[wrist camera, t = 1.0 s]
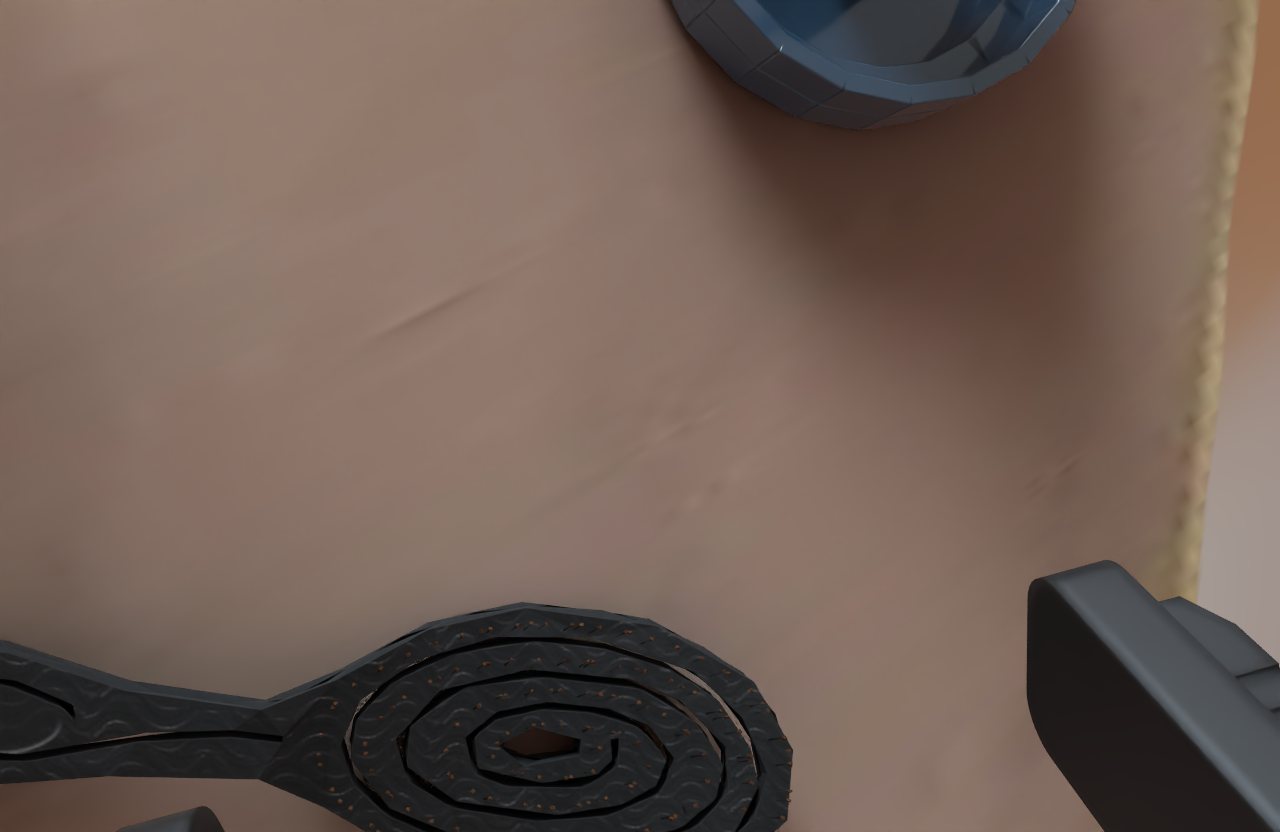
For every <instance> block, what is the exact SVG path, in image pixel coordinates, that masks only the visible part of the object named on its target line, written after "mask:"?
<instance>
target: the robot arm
mask: <svg viewBox="0 0 1280 832" xmlns="http://www.w3.org/2000/svg"><path fill="white" fill-rule="evenodd" d="M1027 700H1028V706H1029V710H1030V714H1031V717H1032V720H1033V723H1034V726H1035V729H1036V731H1037V733H1038V736H1039V738H1040V740H1041V742H1042V744H1043V746H1044V748H1045V749H1046V751H1047V753H1048V754H1049V756H1050V757H1051V759H1052V760H1053V761H1054V763H1055V764H1056V765H1057V767H1058V768H1059V770H1060V771H1061V772H1062V774H1063V775H1064V776H1065V778H1066V779H1067V781H1068V782H1069V783H1070V785H1071V786H1072V787H1073V789H1074V790H1075V792H1076V793H1077V794H1078V796H1079V797H1080V798H1081V800H1082V801H1083V803H1084V804H1085V805H1086V807H1087V808H1088V809H1089V811H1090V812H1091V814H1092V815H1093V816H1094V818H1095V819H1096V820H1097V822H1098V823H1099V825H1100V826H1101V827H1102V829H1103V830H1104V831H1105V832H1280V668H1279V663H1278V662H1277V661H1275V660H1274V659H1273V658H1272V657H1271V656H1270V655H1269V654H1268V653H1267V652H1265V650H1263V649H1262V648H1261V647H1260V646H1259V645H1258V644H1257V643H1256V642H1255V641H1254V640H1252V639H1251V638H1250V637H1249V636H1248V635H1247V634H1246V633H1245V632H1244V631H1243V630H1241V629H1240V628H1239V627H1238V626H1237V625H1236V624H1234V623H1232V622H1230V621H1228V620H1226V619H1224V618H1222V617H1220V616H1218V615H1216V614H1214V613H1212V612H1210V611H1208V610H1206V609H1204V608H1202V607H1200V606H1198V605H1196V604H1194V603H1192V602H1190V601H1188V600H1186V599H1184V598H1182V597H1180V596H1179V597H1175V598H1171V599H1168V600H1164V601H1161V602H1158V601H1157V600H1156V599H1155V598H1154V597H1153V596H1152V595H1151V594H1150V593H1149V592H1148V591H1147V590H1146V589H1145V588H1144V587H1143V586H1141V585H1140V584H1139V583H1138V582H1137V581H1136V580H1135V579H1134V578H1133V577H1132V576H1131V575H1130V574H1129V573H1128V572H1127V571H1126V570H1125V569H1124V568H1123V567H1122V566H1120V565H1119V564H1117V563H1116V562H1113V561H1111V560H1103V561H1099V562H1096V563H1092V564H1088V565H1085V566H1081V567H1077V568H1074V569H1070V570H1067V571H1063V572H1059V573H1056V574H1052V575H1048V576H1045V577H1041V578H1038V579H1035V580H1034V581H1032V582H1031V584H1030V587H1029V591H1028V612H1027ZM116 832H225V831H224V830H223V828H222V826H221V824H220V822H219V820H218V819H217V817H216V815H215V814H214V813H213V812H212V810H210V809H209V808H208V807H205V806H201V807H197V808H193V809H190V810H186V811H182V812H179V813H175V814H171V815H168V816H164V817H161V818H157V819H153V820H150V821H146V822H142V823H139V824H135V825H131V826H128V827H124V828H121V829H119V830H118V831H116Z"/></svg>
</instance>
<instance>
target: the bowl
mask: <svg viewBox="0 0 1280 832" xmlns="http://www.w3.org/2000/svg"><path fill="white" fill-rule="evenodd" d="M671 2H672V4H673V6H674V8H675V10H676V12H677V14H678V16H679V18H680V20H681V22H682V23H683V25H684V27H685V28H686V30H687V31H688V32H689V33H690V35H691V36H692V37H693V38H694V39H695V40H696V41H697V42H698V43H699V44H700V45H701V46H702V47H703V49H704V50H705V51H706V52H707V53H708V54H709V55H710V56H711V57H712V58H713V59H714V60H715V61H716V63H717V64H718V65H719V66H720V67H721V68H722V69H723V70H724V71H725V72H726V73H727V74H728V75H729V76H730V78H731V79H732V80H733V81H734V82H737V84H739V85H740V86H742V87H744V88H746V89H747V90H749V91H751V92H753V93H754V94H756V95H758V96H759V97H761V98H763V99H765V100H766V101H768V102H770V103H772V104H773V105H775V106H777V107H778V108H780V109H782V110H784V111H785V112H787V113H789V114H790V115H792V116H794V117H796V118H800V119H805V120H810V121H814V122H819V123H824V124H829V125H834V126H839V127H844V128H849V129H854V130H864V129H871V128H877V127H884V126H890V125H897V124H903V123H910V122H916V121H919V120H921V119H924V118H926V117H928V116H930V115H933V114H935V113H937V112H939V111H942V110H944V109H946V108H948V107H951V106H953V105H955V104H957V103H959V102H962V101H964V100H966V99H968V98H971V97H973V96H975V95H977V94H979V93H981V92H982V91H984V90H986V89H987V88H989V87H991V86H993V85H994V84H996V83H998V82H1000V81H1001V80H1003V79H1005V78H1007V77H1008V76H1010V75H1012V74H1014V73H1015V72H1017V71H1019V70H1021V69H1022V68H1024V67H1026V66H1027V65H1028V64H1029V63H1031V61H1032V60H1033V59H1034V58H1035V57H1036V55H1037V54H1038V53H1039V52H1040V51H1041V49H1042V48H1043V47H1044V46H1045V45H1046V43H1047V42H1048V41H1049V40H1050V39H1051V37H1052V36H1053V35H1054V34H1055V33H1056V31H1057V30H1058V29H1059V28H1060V27H1061V25H1062V24H1063V23H1064V22H1065V21H1066V19H1067V18H1068V17H1069V15H1070V14H1071V12H1072V9H1073V7H1074V4H1075V2H1076V0H671Z"/></svg>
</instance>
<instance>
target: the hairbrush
mask: <svg viewBox="0 0 1280 832" xmlns="http://www.w3.org/2000/svg"><path fill="white" fill-rule="evenodd" d="M493 637H513V638H506V639H500V640H494V641H488V642H481V643H476V642H480V641H483V640H486V639H490V638H493ZM557 637H591V638H594V639H597V640H600V641H603V642H606V643H609V644H612V645H615V646H618V647H621V648H624V649H627V650H630V651H633V652H636V653H639V654H642V655H639V654H636V653H633V652H630V651H627V650H623V649H620V648H617V647H614V646H611V645H607V644H604V643H596V642H588V641H581V640H573V639H565V638H557ZM473 643H475V644H473ZM435 654H436V655H435ZM432 655H434V656H432ZM643 655H646V656H649V657H652V658H655V659H658V660H655V659H652V658H649V657H646V656H643ZM429 656H432V657H430V658H428V659H426V660H424V661H421V662H419V663H417V664H415V665H413V666H411V667H409V668H407V669H405V668H406V667H408V666H409V665H411V664H412V663H413V662H415V661H416V660H418V659H422V658H425V657H429ZM659 660H661V661H659ZM662 661H664V662H667V663H670V664H673V665H676V666H679V667H682V668H684V669H686V670H688V671H689V672H691V673H693V674H694V675H696V676H697V677H699V678H700V679H701V680H703V681H704V682H705V683H706V684H707V685H708V686H709V687H711V688H712V689H713V690H714V691H715V692H716V693H717V694H718V695H719V696H720V697H721V698H722V700H723V701H724V702H725V703H726V705H727V706H728V707H729V709H730V710H731V711H732V712H733V714H734V715H735V716H736V717H737V719H738V720H739V722H740V723H741V725H742V727H743V728H744V730H745V731H746V733H747V735H748V736H749V738H750V740H751V745H752V750H753V755H754V760H755V765H756V770H757V775H758V776H757V777H756V773H755V768H754V763H753V757H752V753H751V749H750V747H749V746H748V744H747V743H746V741H745V739H744V738H743V736H742V735H741V733H742V731H741V730H740V729H737V727H736V726H735V724H734V723H733V722H732V720H731V719H730V717H729V716H728V714H727V713H726V711H725V710H724V708H723V707H722V705H721V704H720V703H719V701H718V700H717V699H715V698H714V697H713V696H712V694H711V693H710V692H708V691H707V690H705V689H704V688H702V687H701V686H699V685H697V684H696V683H694V682H693V681H691V680H690V679H688V678H687V677H685V676H684V675H682V674H681V673H679V672H678V671H676V670H675V669H673V668H671V667H670V666H668V665H667V664H665V663H664V662H662ZM528 669H531V670H542V671H534V672H524V673H515V672H520V671H524V670H528ZM511 673H515V674H511ZM582 674H583V675H582ZM591 675H593V676H591ZM601 676H603V677H601ZM610 677H614V678H610ZM619 678H624V679H619ZM626 679H633V680H635V681H637V682H639V683H642V684H644V685H646V686H648V687H650V688H653V689H655V690H657V691H659V692H661V693H664V694H666V695H668V696H670V697H672V698H675V699H676V700H678V701H679V702H680V703H682V704H683V705H684V706H686V707H687V708H688V709H689V710H690V711H691V712H692V713H693V714H694V715H695V716H696V717H697V718H698V719H699V720H700V721H701V722H702V723H703V724H704V725H705V726H706V727H707V728H708V730H709V731H710V733H711V735H712V736H713V738H714V740H715V741H716V743H717V745H718V746H719V748H720V750H721V760H720V758H719V757H718V755H717V753H716V751H715V750H714V748H713V747H712V745H711V744H710V742H709V740H708V738H707V735H706V734H705V732H704V731H703V730H702V728H701V727H700V726H699V725H698V724H696V723H695V722H694V721H693V720H692V719H691V718H690V717H689V716H688V715H687V714H686V713H685V712H684V711H682V710H680V709H679V708H677V707H676V706H675V705H674V704H673V703H671V702H670V701H669V700H668V699H667V698H665V697H664V696H662V695H659V694H657V693H655V692H653V691H650V690H648V689H646V688H644V687H641V686H639V685H637V684H635V683H632V682H630V681H628V680H626ZM379 686H380V687H379ZM378 687H379V688H378ZM377 688H378V689H377ZM448 688H451V689H449V690H448V691H447V692H445V693H444V694H442V695H441V696H439V697H438V698H437V699H435V700H434V701H432V702H431V703H429V702H430V701H431V700H432V699H433V698H434V696H435V695H436V694H437V693H438V692H439V691H440V690H444V689H448ZM375 689H377V690H376V691H375V693H374V694H373V695H372V696H371V697H370V699H369V700H368V701H367V702H366V703H365V705H364V706H363V707H362V708H361V709H360V711H359V712H358V713H357V714H356V715H355V717H354V720H353V725H352V731H351V737H350V742H351V761H352V762H353V763H354V764H355V766H356V767H357V768H358V769H359V771H360V772H361V773H362V774H363V777H364V780H365V781H366V782H368V783H369V784H371V786H372V787H373V788H374V789H375V791H376V792H377V793H378V794H379V796H380V797H381V798H380V797H379V796H378V795H377V794H376V793H375V792H373V791H372V790H371V789H370V788H369V787H367V786H366V785H365V784H364V783H363V782H362V781H360V780H359V779H358V778H357V777H356V776H355V775H354V772H353V768H352V764H351V761H350V757H349V754H348V750H347V746H346V743H345V739H344V736H345V734H346V731H347V729H348V727H349V724H350V722H351V720H352V717H353V715H354V713H355V710H356V708H357V706H358V703H359V701H360V700H361V699H362V698H364V697H365V696H367V695H368V694H370V693H371V692H372V691H374V690H375ZM543 702H552V703H543ZM428 703H429V704H428ZM538 703H542V704H538ZM72 704H73V705H72ZM427 704H428V705H427ZM426 705H427V706H426ZM597 707H599V708H597ZM604 708H607V709H611V710H613V711H616V712H618V713H620V714H623V715H625V716H627V717H630V718H632V719H634V720H637V721H639V722H641V723H644V724H646V725H648V726H649V727H650V728H651V729H652V730H653V731H654V733H655V734H656V735H657V736H658V738H659V739H660V740H661V742H662V744H663V746H664V749H665V752H666V755H667V760H666V759H665V758H664V756H663V754H662V752H661V750H660V748H659V746H658V745H657V744H656V743H655V742H654V741H653V739H652V738H651V736H650V735H649V734H648V733H647V731H646V730H645V729H644V728H643V727H642V726H641V725H640V724H638V723H636V722H634V721H631V720H629V719H627V718H625V717H622V716H620V715H618V714H616V713H614V712H611V711H609V710H607V709H604ZM406 727H407V731H406V737H405V744H404V751H405V756H406V760H405V759H404V757H403V756H402V755H401V753H400V752H399V749H398V745H397V740H398V737H399V735H400V734H401V733H402V732H403V730H404V729H405V728H406ZM533 728H537V729H541V730H545V731H549V732H553V733H557V734H561V735H565V736H569V737H573V738H575V739H574V744H573V748H572V749H571V750H563V751H555V752H547V753H540V754H532V755H523V754H521V753H518V752H516V751H514V750H511V749H509V748H506V747H504V746H503V743H505V742H507V741H509V740H511V739H513V738H515V737H517V736H519V735H521V734H523V733H525V732H527V731H529V730H531V729H533ZM153 732H172V733H164V734H156V735H148V736H140V737H132V738H125V739H117V740H110V741H102V742H95V741H101V740H107V739H113V738H119V737H124V736H130V735H136V734H142V733H153ZM471 732H472V737H471V747H472V751H473V753H474V755H475V758H476V762H477V765H478V766H477V765H476V764H475V763H474V761H473V760H472V759H471V757H470V754H469V750H468V746H467V741H466V739H467V738H468V736H469V735H470V734H471ZM611 739H615V743H614V746H613V749H612V751H611ZM90 742H94V743H90ZM84 743H87V744H84ZM78 744H79V745H78ZM792 755H793V749H792V748H791V746H790V744H789V742H788V741H787V737H786V736H785V735H784V734H783V732H782V730H781V728H780V727H779V725H778V721H777V718H776V715H775V713H774V712H773V710H772V709H771V708H770V707H769V705H768V704H767V703H766V701H765V700H764V699H763V697H762V695H761V693H760V692H759V690H758V688H757V687H756V685H755V683H754V682H753V681H752V680H750V679H749V678H747V677H746V676H745V675H744V673H743V672H741V671H740V670H738V669H736V668H734V667H733V666H731V665H729V664H728V663H726V662H724V661H723V660H721V659H720V658H719V657H717V656H716V655H714V654H713V653H711V652H710V651H708V650H707V649H706V648H704V647H702V646H700V645H698V644H696V643H694V642H691V641H689V640H687V639H685V638H683V637H681V636H679V635H677V634H675V633H674V632H672V631H670V630H668V629H666V628H664V627H663V626H661V625H659V624H657V623H655V622H653V621H652V620H650V619H644V618H639V617H633V616H627V615H621V614H614V613H609V612H606V611H602V610H589V609H575V608H567V607H559V606H551V605H542V604H533V603H523V602H521V603H516V604H511V605H507V606H502V607H497V608H492V609H488V610H483V611H478V612H474V613H469V614H465V615H460V616H456V617H452V618H447V619H443V620H438V621H434V622H429V623H427V624H425V625H423V626H421V627H419V628H417V629H415V630H413V631H412V632H410V633H408V634H406V635H404V636H402V637H400V638H398V639H397V640H395V641H393V642H391V643H389V644H387V645H385V646H383V647H381V648H380V649H378V650H376V651H374V652H372V653H370V654H368V655H366V656H365V657H363V658H361V659H359V660H357V661H355V662H353V663H351V664H349V665H348V666H346V667H344V668H342V669H340V670H337V671H335V672H332V673H330V674H328V675H325V676H323V677H320V678H318V679H316V680H313V681H311V682H308V683H306V684H304V685H301V686H299V687H296V688H294V689H291V690H289V691H287V692H284V693H282V694H279V695H277V696H275V697H272V698H270V699H267V700H261V699H254V698H247V697H240V696H233V695H226V694H219V693H212V692H205V691H198V690H191V689H184V688H177V687H170V686H163V685H156V684H149V683H142V682H135V681H130V680H127V679H124V678H121V677H117V676H114V675H111V674H108V673H105V672H102V671H99V670H96V669H93V668H89V667H86V666H83V665H80V664H77V663H74V662H71V661H68V660H64V659H61V658H58V657H55V656H52V655H49V654H46V653H43V652H40V651H36V650H33V649H30V648H27V647H24V646H21V645H18V644H15V643H11V642H8V641H0V784H8V783H22V782H36V781H50V780H63V779H77V778H91V777H105V776H120V777H170V778H221V779H259V780H261V781H264V782H266V783H268V784H271V785H273V786H275V787H278V788H280V789H282V790H285V791H287V792H289V793H292V794H294V795H297V796H299V797H301V798H304V799H306V800H308V801H311V802H313V803H315V804H318V805H320V806H322V807H324V808H326V809H328V810H330V811H331V812H333V813H335V814H336V815H338V816H340V817H342V818H343V819H345V820H347V821H348V822H350V823H352V824H354V825H355V826H357V827H359V828H360V829H362V830H364V831H366V832H774V831H776V830H777V829H778V828H779V827H780V826H781V825H782V824H783V823H785V822H786V821H787V816H788V804H789V802H790V801H791V800H790V799H789V793H790V792H792V790H790V779H791V767H792ZM406 761H407V762H406ZM414 772H415V773H417V774H418V775H420V776H421V777H422V778H424V779H425V780H427V781H428V782H430V783H431V784H432V785H434V786H435V787H437V788H438V789H439V790H437V789H434V788H430V787H426V786H424V785H423V784H422V783H421V781H420V780H419V778H418V777H417V776H416V774H415V773H414ZM494 772H497V773H501V774H505V775H510V776H514V777H505V776H502V775H500V774H497V773H494ZM720 779H721V782H720Z"/></svg>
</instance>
